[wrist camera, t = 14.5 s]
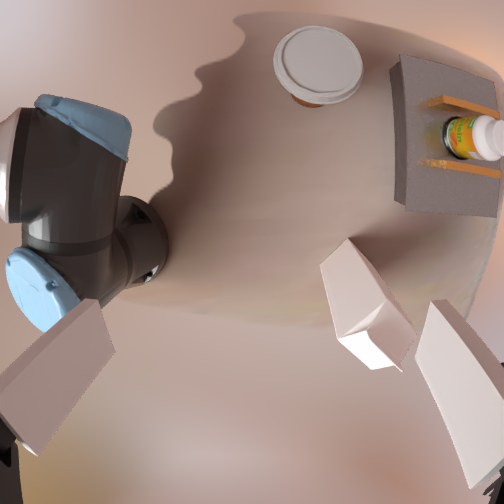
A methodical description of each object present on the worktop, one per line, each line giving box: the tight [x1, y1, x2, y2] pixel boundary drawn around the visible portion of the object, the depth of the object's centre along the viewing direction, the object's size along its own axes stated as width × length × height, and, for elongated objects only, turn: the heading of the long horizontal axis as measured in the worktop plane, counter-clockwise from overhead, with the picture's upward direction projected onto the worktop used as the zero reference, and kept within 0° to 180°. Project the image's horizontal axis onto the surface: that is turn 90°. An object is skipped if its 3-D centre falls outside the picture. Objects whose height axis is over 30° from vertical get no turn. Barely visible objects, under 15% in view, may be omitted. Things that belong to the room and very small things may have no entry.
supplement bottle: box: [447, 115, 504, 161], centre depth 22 cm, size 5×5×10 cm
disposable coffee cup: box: [273, 25, 364, 108], centre depth 28 cm, size 10×10×12 cm
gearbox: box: [390, 54, 501, 218], centre depth 28 cm, size 17×21×10 cm
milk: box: [319, 239, 418, 372], centre depth 31 cm, size 6×6×22 cm
